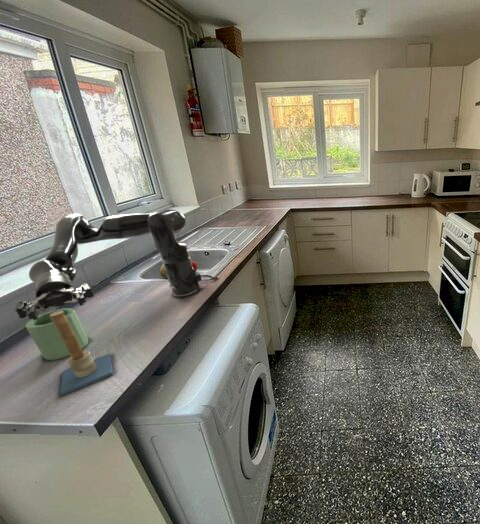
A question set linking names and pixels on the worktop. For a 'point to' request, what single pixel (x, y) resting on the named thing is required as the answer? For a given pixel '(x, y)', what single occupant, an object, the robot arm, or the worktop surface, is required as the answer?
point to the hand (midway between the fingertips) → (57, 308)
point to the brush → (73, 347)
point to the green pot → (54, 334)
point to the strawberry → (194, 265)
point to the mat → (73, 382)
